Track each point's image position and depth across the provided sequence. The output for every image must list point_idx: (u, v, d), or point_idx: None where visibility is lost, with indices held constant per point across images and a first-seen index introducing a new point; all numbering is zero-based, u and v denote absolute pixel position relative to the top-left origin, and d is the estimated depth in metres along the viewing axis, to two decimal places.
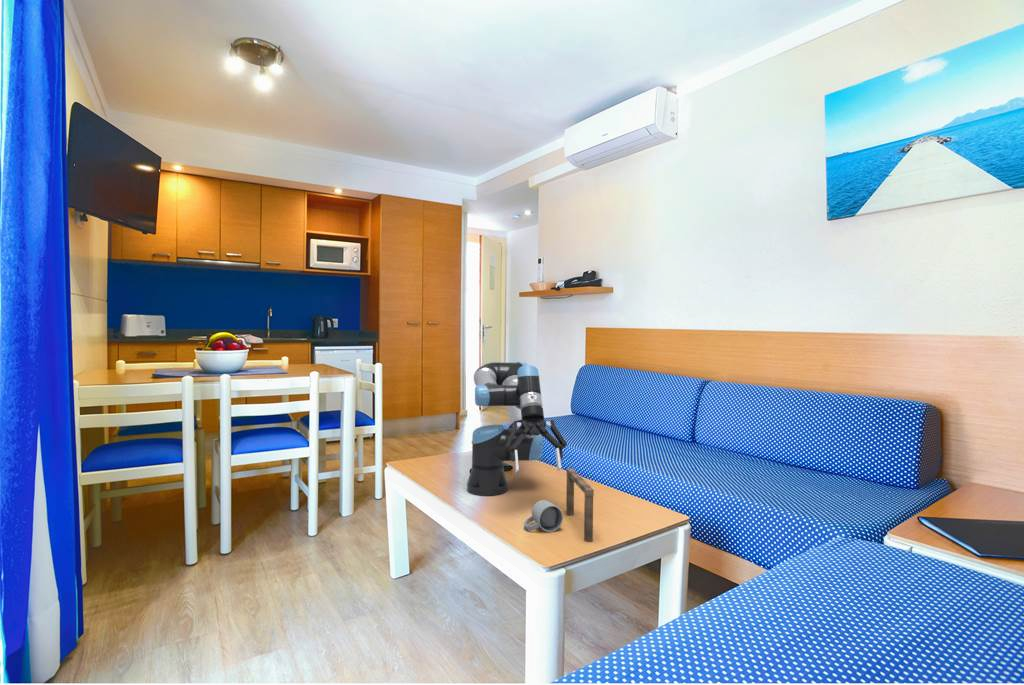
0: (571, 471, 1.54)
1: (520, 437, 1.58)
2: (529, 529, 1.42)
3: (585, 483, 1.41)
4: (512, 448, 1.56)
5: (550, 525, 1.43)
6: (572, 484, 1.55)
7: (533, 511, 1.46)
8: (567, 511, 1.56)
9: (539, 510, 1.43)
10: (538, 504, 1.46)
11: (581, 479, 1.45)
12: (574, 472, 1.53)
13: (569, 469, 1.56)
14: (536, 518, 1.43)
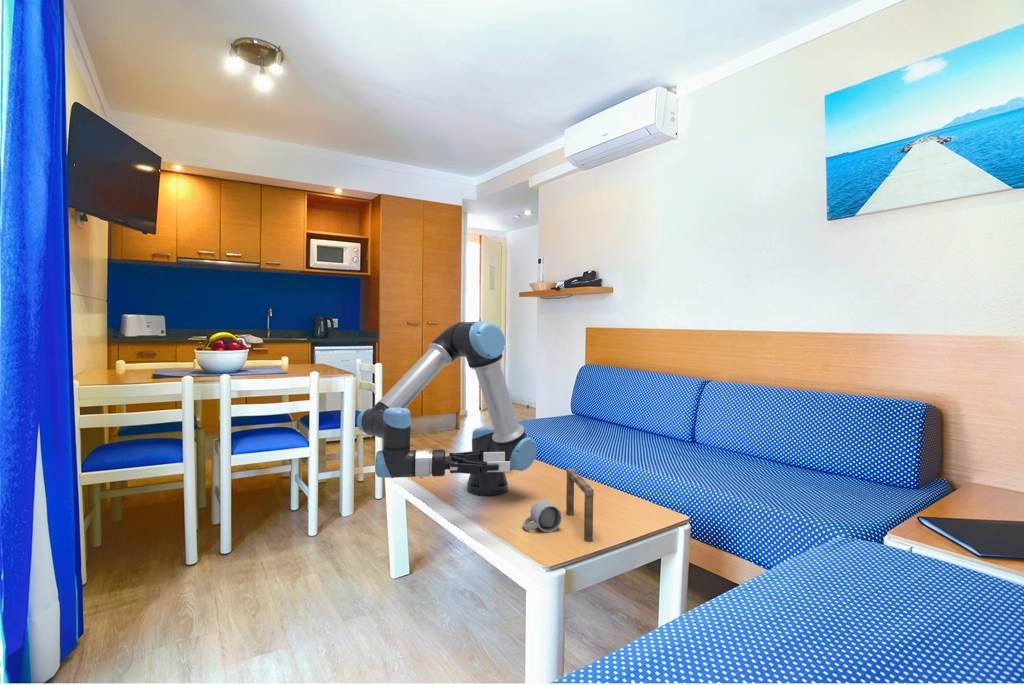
0: (571, 471, 1.54)
1: None
2: (528, 529, 1.42)
3: (585, 483, 1.41)
4: None
5: (549, 525, 1.43)
6: (572, 484, 1.55)
7: (532, 511, 1.46)
8: (567, 511, 1.56)
9: (538, 510, 1.42)
10: (536, 504, 1.46)
11: (581, 479, 1.45)
12: (574, 472, 1.53)
13: (569, 469, 1.56)
14: (535, 518, 1.43)
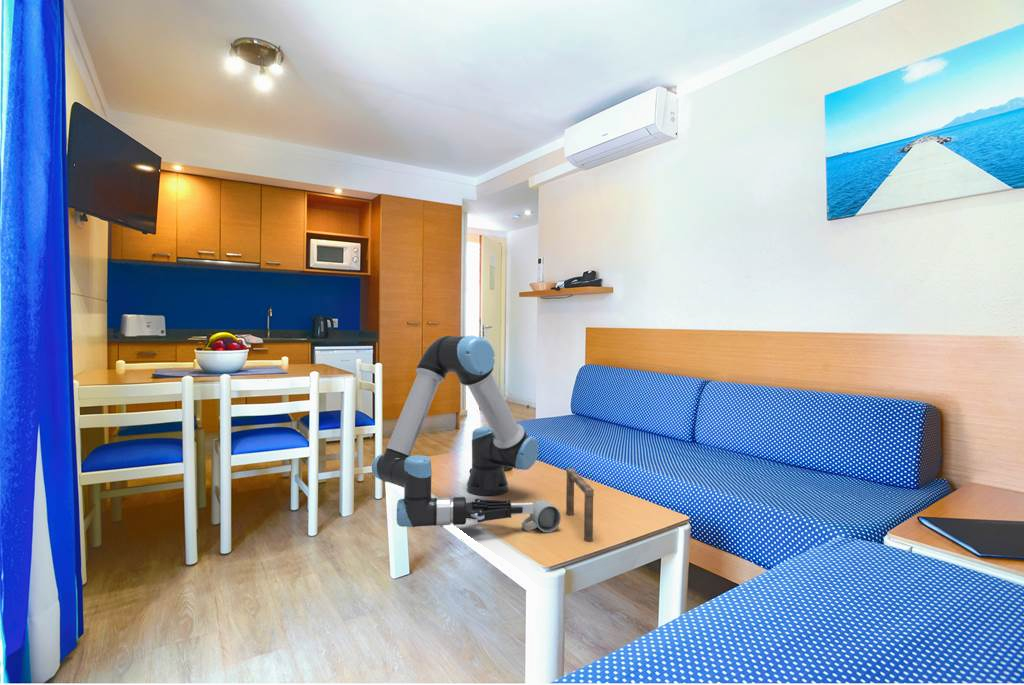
0: (571, 471, 1.54)
1: None
2: (527, 529, 1.42)
3: (585, 483, 1.41)
4: None
5: (548, 525, 1.43)
6: (572, 484, 1.55)
7: None
8: (567, 511, 1.56)
9: (537, 510, 1.42)
10: (536, 504, 1.46)
11: (581, 479, 1.45)
12: (574, 472, 1.53)
13: (569, 469, 1.56)
14: (534, 518, 1.42)
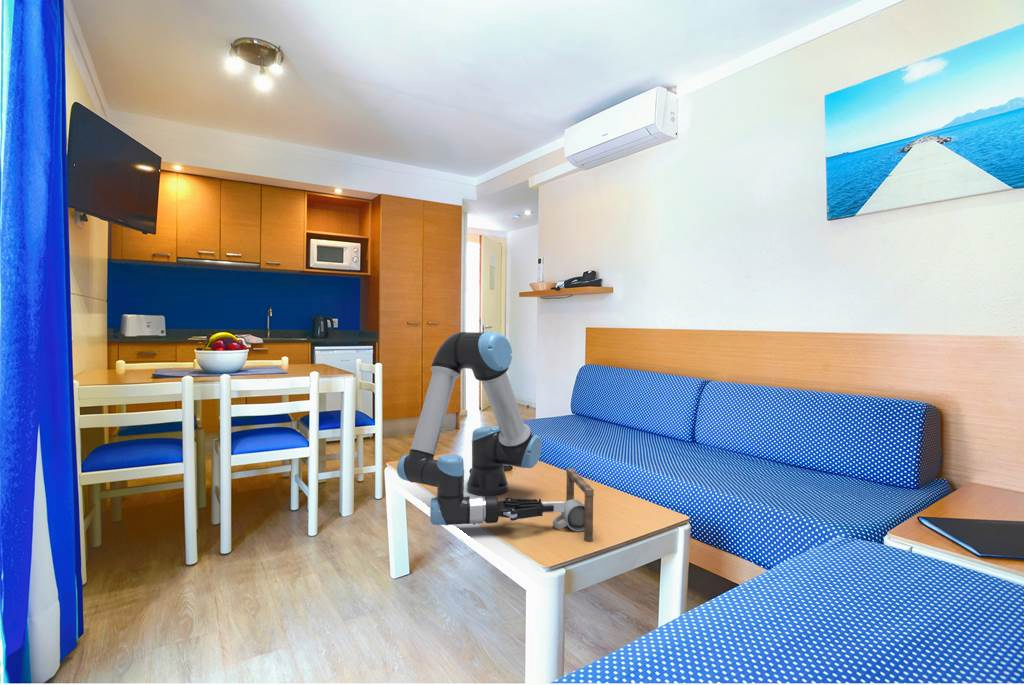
0: (571, 471, 1.54)
1: None
2: (557, 527, 1.43)
3: (585, 483, 1.41)
4: None
5: (578, 524, 1.44)
6: (572, 484, 1.55)
7: None
8: None
9: (567, 509, 1.43)
10: (567, 503, 1.47)
11: (581, 479, 1.45)
12: (574, 472, 1.53)
13: (569, 469, 1.56)
14: (564, 517, 1.44)
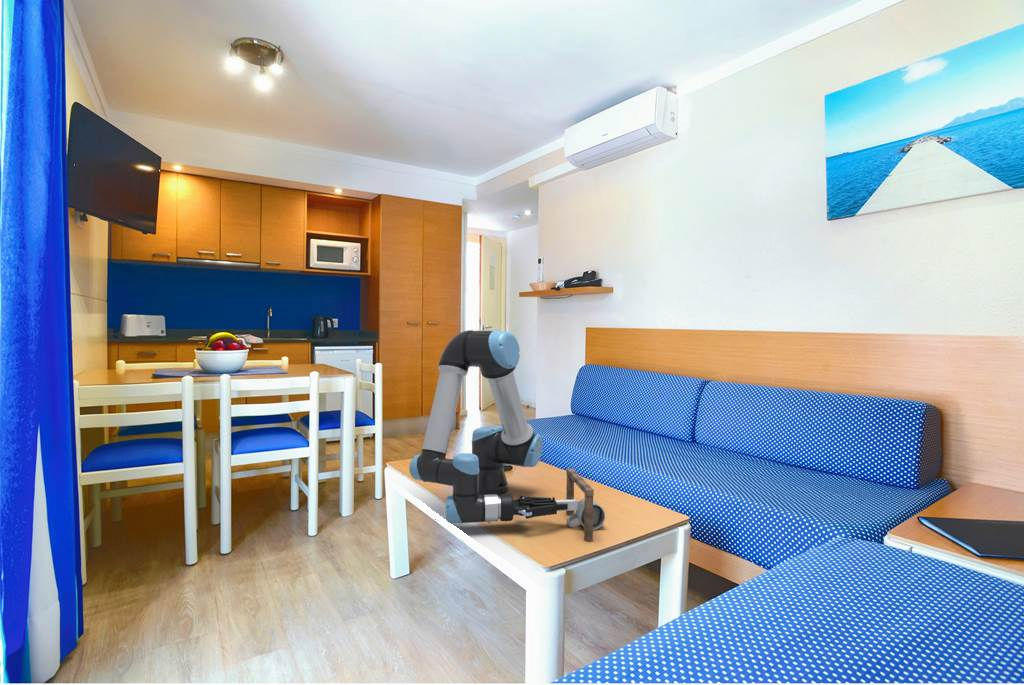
0: (571, 471, 1.54)
1: None
2: (571, 526, 1.45)
3: (585, 483, 1.41)
4: None
5: None
6: (572, 484, 1.55)
7: None
8: (567, 511, 1.56)
9: (581, 507, 1.45)
10: (581, 502, 1.48)
11: (581, 479, 1.45)
12: (574, 472, 1.53)
13: (569, 469, 1.56)
14: (578, 515, 1.45)
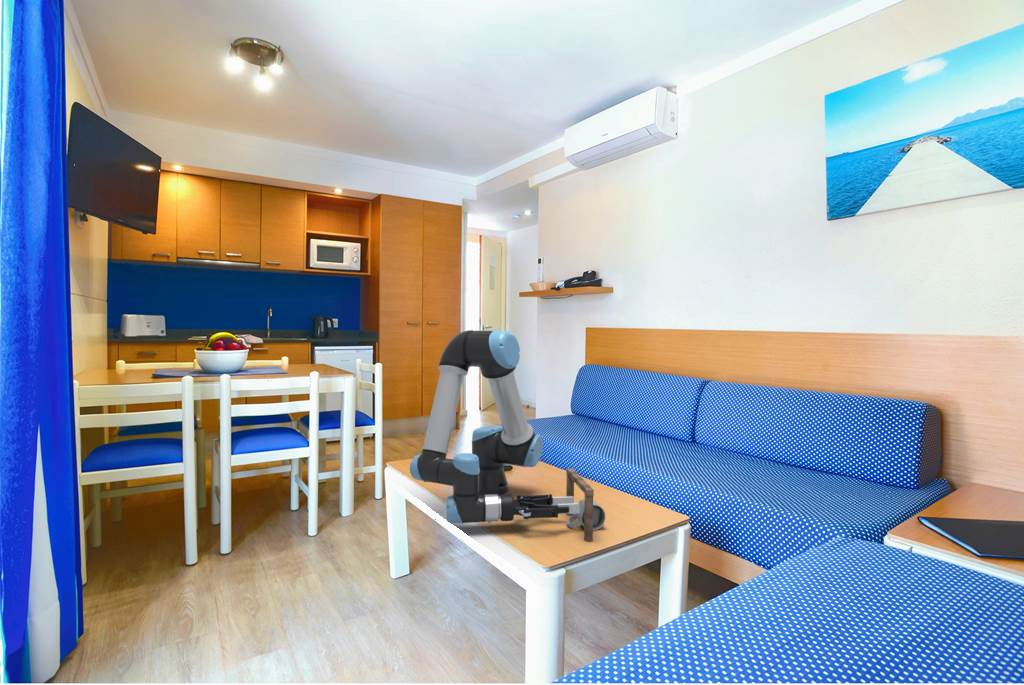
0: (571, 471, 1.54)
1: None
2: (571, 526, 1.44)
3: (585, 483, 1.41)
4: None
5: (593, 524, 1.45)
6: (572, 484, 1.55)
7: None
8: None
9: (582, 508, 1.44)
10: (581, 502, 1.48)
11: (581, 479, 1.45)
12: (574, 472, 1.53)
13: (569, 469, 1.56)
14: (579, 516, 1.45)
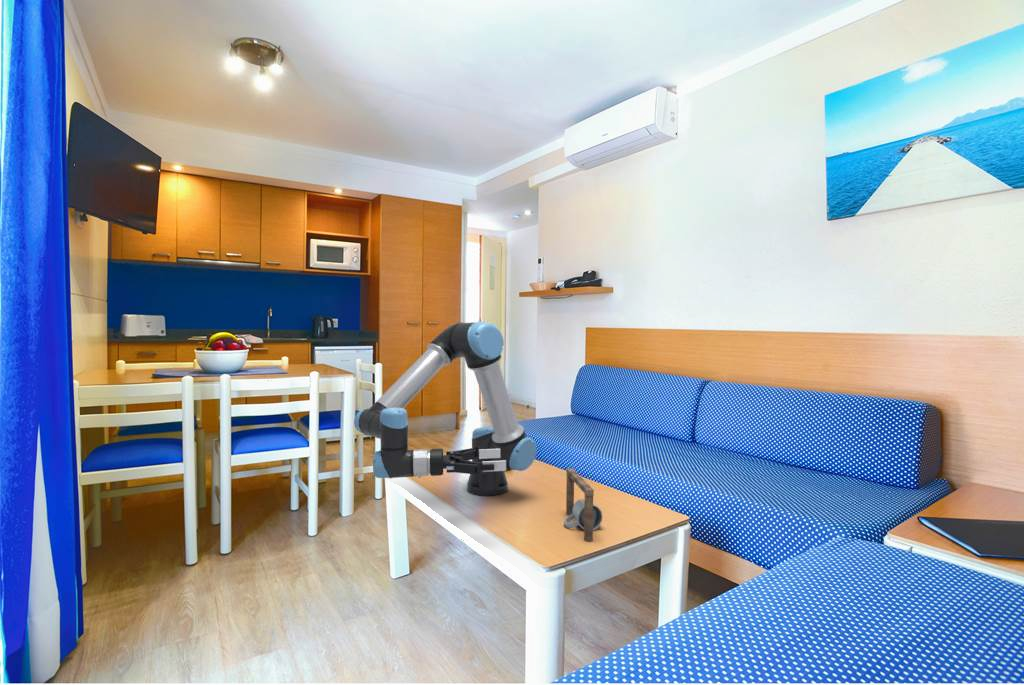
0: (571, 471, 1.54)
1: None
2: (568, 527, 1.44)
3: (585, 483, 1.41)
4: None
5: None
6: (572, 484, 1.55)
7: (573, 509, 1.48)
8: (567, 511, 1.56)
9: (579, 508, 1.44)
10: (578, 503, 1.48)
11: (581, 479, 1.45)
12: (574, 472, 1.53)
13: (569, 469, 1.56)
14: (575, 516, 1.45)
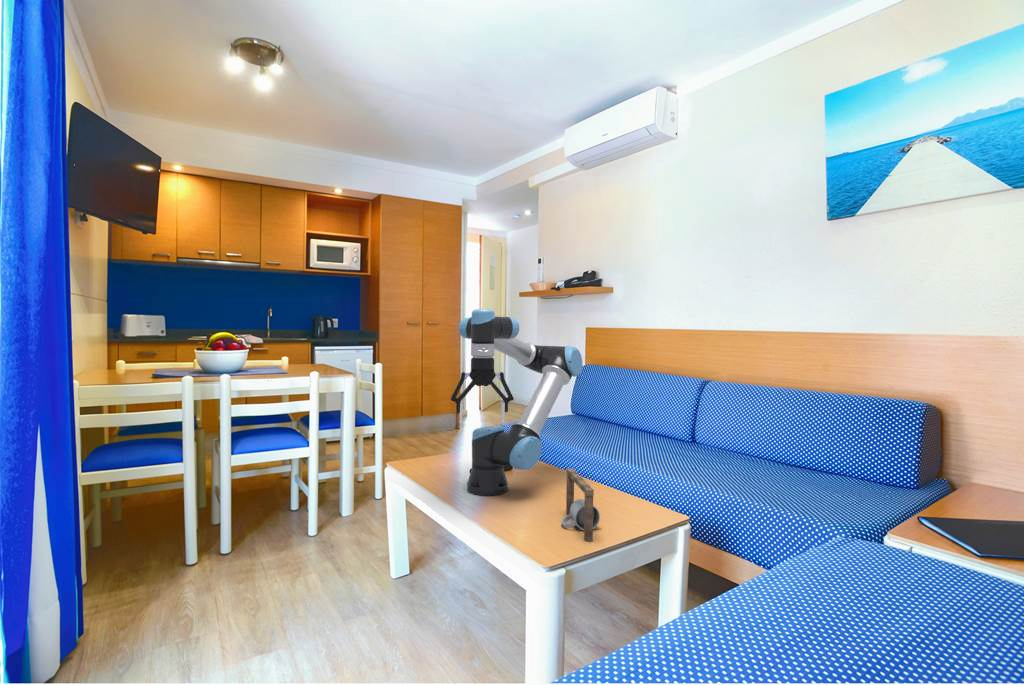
0: (571, 471, 1.54)
1: (467, 390, 1.56)
2: (566, 527, 1.44)
3: (585, 483, 1.41)
4: (457, 401, 1.56)
5: None
6: (572, 484, 1.55)
7: (571, 509, 1.48)
8: (567, 511, 1.56)
9: (576, 508, 1.44)
10: (575, 503, 1.48)
11: (581, 479, 1.45)
12: (574, 472, 1.53)
13: (569, 469, 1.56)
14: (573, 516, 1.45)
